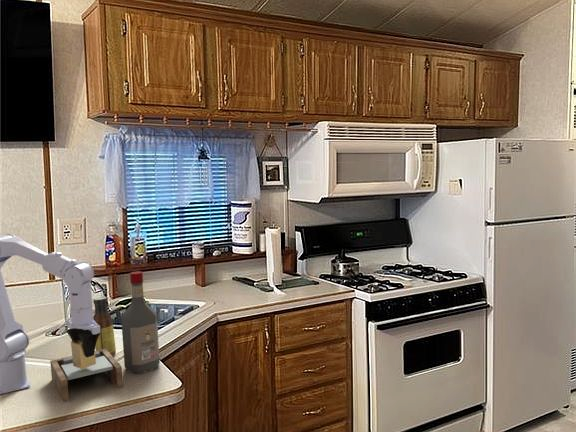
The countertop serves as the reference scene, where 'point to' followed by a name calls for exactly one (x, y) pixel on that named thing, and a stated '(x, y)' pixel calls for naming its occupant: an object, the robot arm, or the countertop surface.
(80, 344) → the yellow wooden block
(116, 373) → the frame
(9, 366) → the robot arm
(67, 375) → the trapdoor
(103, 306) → the sauce bottle
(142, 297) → the liquor
